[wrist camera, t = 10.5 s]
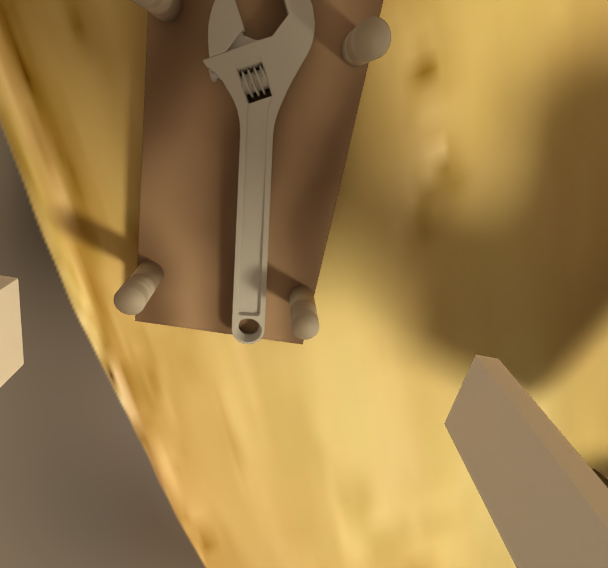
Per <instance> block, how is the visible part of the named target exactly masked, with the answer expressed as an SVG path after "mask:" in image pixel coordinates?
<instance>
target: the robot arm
mask: <svg viewBox="0 0 608 568" xmlns="http://www.w3.org/2000/svg"><path fill="white" fill-rule="evenodd" d="M23 364H24V361H23V346H22V331H21V316H20V301H19V286H18V278H12V277H6V276H1V275H0V387H1V386H2V385H3V384H4V383H5V382H6V381H7V380H8V379H9V378H10V377H11V376H12V375H13V374H14V373H15V372H16V371H17V370H18V369H19V368H20V367H21V366H22V365H23ZM445 426H446V428H447V430H448V432H449V434H450V436H451V438H452V440H453V442H454V444H455V446H456V448H457V450H458V452H459V454H460V456H461V458H462V460H463V462H464V464H465V466H466V468H467V470H468V472H469V474H470V476H471V478H472V480H473V482H474V484H475V486H476V488H477V490H478V492H479V494H480V496H481V498H482V500H483V502H484V504H485V506H486V508H487V510H488V512H489V514H490V516H491V518H492V520H493V522H494V524H495V526H496V528H497V530H498V532H499V534H500V536H501V538H502V540H503V542H504V544H505V546H506V548H507V550H508V552H509V554H510V555H511V557H512V559H513V561H514V563H515V565H516V567H517V568H608V480H607V479H606V478H605V477H604V476H602V475H601V474H600V473H599V472H598V471H596V470H595V469H591V468H590V466H589V465H588V464H587V463H586V462H585V460H584V459H583V458H582V457H581V456H580V455H579V453H578V452H577V451H576V450H575V449H574V447H573V446H572V445H571V444H570V443H569V441H568V440H567V439H566V438H565V437H564V436H563V434H562V433H561V432H560V431H559V430H558V428H557V427H556V426H555V425H554V424H553V423H552V421H551V420H550V419H549V418H548V417H547V415H546V414H545V413H544V412H543V411H542V409H541V408H540V407H539V406H538V405H537V404H536V402H535V401H534V400H533V399H532V398H531V396H530V395H529V394H528V393H527V392H526V391H525V389H524V388H523V387H522V386H521V385H520V383H519V382H518V381H517V380H516V379H515V377H514V376H513V375H512V374H511V373H510V372H509V370H508V369H507V368H506V367H505V366H504V364H503V363H502V362H501V361H500V360H499V359H498V358H493V357H487V356H481V355H475V357H474V359H473V361H472V363H471V366H470V368H469V370H468V372H467V375H466V377H465V379H464V381H463V384H462V386H461V388H460V390H459V392H458V395H457V397H456V399H455V401H454V404H453V406H452V408H451V410H450V412H449V415H448V417H447V419H446V421H445Z"/></svg>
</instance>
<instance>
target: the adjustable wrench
mask: <svg viewBox="0 0 608 568" xmlns="http://www.w3.org/2000/svg"><path fill="white" fill-rule="evenodd" d="M284 4H285V7H286V11H287V15H288V16H287V17H286V19H285V20H284V21H283V23H282V24H281V25H280V27H279V28H278V29H277V30H276V32H275V33H274V34H273V36H271V37H268V38H264V39H261V40H254V39H251V38H249V37H246V36H244V33H245V29H244V26H243V22H242V19H241V16H240V13H239V10H238V7H237V4H236V1H235V0H215V2H214V4H213V7H212V10H211V14H210V19H209V25H208V47H209V56H210V58H208V59H205V60H203V62H204V63H205V65H206V67H208V71H209V74H210V77H211V79H212V81H213V82H215V81H217V79H219V80H222V81H223V83H224V85H225V86H226V88H227V90H228V91H229V93H230V95H231V96H232V98H233V100H234V103H235V105H236V107H237V111H238V116H239V121H240V152H239V175H238V198H237V221H236V245H235V268H234V291H233V314H232V334H233V336H234V337H235V339H236V340H238V341H239V342H241V343H244V344H253V343H256V342H258V341H259V340H260V339H261V338H262V337H263V335H264V329H265V307H266V284H267V261H268V239H269V216H270V193H271V170H272V147H273V131H274V124H275V120H276V117H277V114H278V111H279V108H280V106H281V104H282V101H283V99H284V97H285V95H286V92H287V90H288V88H289V86H290V84H291V82H292V80H293V78H294V77H295V75H296V73H297V71H298V70H299V68H300V66H301V65H302V63H303V61H304V59H305V58H306V56H307V54H308V52H309V50H310V48H311V45H312V41H313V37H314V30H315V19H314V12H313V6H312V3H311V1H310V0H284ZM262 66H263V68H262ZM256 68H259V70H256ZM252 69H253V72H250V71H249V70H252ZM246 71H247V74H244V72H246ZM240 73H241V75H240ZM268 88H270V91H271V95H272V96H270V97H267V98H264V99H261V100H258V101H255V102H253V103H249V100H248V97H247V95H249V94H250V95H251V97H252V98H254V93H255V92H256V93H257V95H258V96H260V91H262V92H263V93H264V95H265V94H266V89H268ZM248 318H249V319H253V320H255V321H257V322H258V324H259V328H258V330H257V331H256V332H254V333H245V332H243V331H241V330H240V329H239V322H240V321H241V320H243V319H248Z"/></svg>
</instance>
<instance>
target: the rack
mask: <svg viewBox="0 0 608 568" xmlns="http://www.w3.org/2000/svg"><path fill="white" fill-rule="evenodd" d="M132 1H133V2H135V3H136V4H138V5H139V6H141V7H142V8H143V9H145V10H146V11H148V28H147V52H146V76H145V99H144V123H143V147H142V171H141V195H140V219H139V242H138V266H137V269H136V270H135V271H134V272H133V273H132V274H131V276H130V277H129V278H128V279H127V280H126V282H125V283H124V284H123V285H122V286H121V288H120V289H119V290H118V291H117V292H116V294H115V295H114V304H115V306H116V308H117V309H118V310H119V311H121V312H122V313H124V314H128V315H135V321H140V322H147V323H154V324H161V325H169V326H176V327H183V328H190V329H197V330H204V331H211V332H218V333H225V334H232V314H233V291H234V268H235V245H236V221H237V198H238V175H239V152H240V121H239V116H238V111H237V107H236V105H235V103H234V100H233V98H232V96H231V95H230V93H229V91H228V90H227V88H226V86H225V85H224V83H223V81H222V80H219V79H217V81H215V82H213V81H212V79H211V77H210V74H209V71H208V67H206V65H205V63H204V62H203V60H205V59H208V58H210V56H209V47H208V25H209V19H210V14H211V10H212V7H213V4H214V2H215V0H132ZM235 1H236V4H237V7H238V10H239V13H240V16H241V19H242V22H243V26H244V29H245V33H244V36H246V37H249V38H251V39H254V40H261V39H264V38H268V37H271V36H273V34H274V33H275V32H276V30H277V29H278V28H279V27H280V25H281V24H282V23H283V21H284V20H285V19H286V17H287V16H288V15H287V11H286V7H285V4H284V0H235ZM310 1H311V3H312V6H313V12H314V19H315V30H314V37H313V41H312V45H311V48H310V50H309V52H308V54H307V56H306V58H305V59H304V61H303V63H302V65H301V66H300V68H299V70H298V71H297V73H296V75H295V77H294V78H293V80H292V82H291V84H290V86H289V88H288V90H287V92H286V95H285V97H284V99H283V101H282V104H281V106H280V108H279V111H278V114H277V117H276V120H275V124H274V131H273V147H272V170H271V193H270V216H269V239H268V261H267V284H266V307H265V329H264V335H263V337H262V338H261V339H268V340H275V341H282V342H289V343H296V344H303V340H306V339H310V338H313V337H314V336H315V335H316V334H317V333H318V331H319V322H318V316H317V311H316V305H315V300H314V293H315V289H316V285H317V281H318V276H319V272H320V268H321V264H322V259H323V255H324V251H325V246H326V242H327V238H328V234H329V229H330V225H331V221H332V217H333V212H334V208H335V204H336V200H337V195H338V191H339V187H340V183H341V178H342V174H343V170H344V166H345V161H346V157H347V153H348V148H349V144H350V140H351V136H352V131H353V127H354V123H355V119H356V114H357V110H358V106H359V102H360V97H361V93H362V89H363V85H364V80H365V76H366V72H367V68H368V63H369V62H371V61H373V60H375V59H378V58H380V57H381V56H383V55H384V54H385V53H386V51H387V50H388V48H389V46H390V42H391V31H390V28H389V26H388V24H387V23H386V22H385V21H384V20H383V19H382V18H380V17H379V16H380V12H381V8H382V4H383V0H310ZM262 68H263V66H262ZM256 70H259V68H256ZM249 71H250V72H253V69H252V70H249ZM244 74H247V71H246V72H244ZM240 75H241V73H240ZM270 96H272V95H271V91H270V88H268V89H266V94H265V95H264V93H263V92H262V91H260V96H258V95H257V93H256V92H255V93H254V98H252V97H251V95H250V94H249V95H247V97H248V100H249V103H253V102H255V101H258V100H261V99H264V98H267V97H270ZM258 328H259V324H258V322H257V321H255V320H253V319H249V318H248V319H243V320H241V321H240V322H239V329H240V330H241V331H243V332H245V333H254V332H256V331H257V330H258ZM232 335H233V334H232Z"/></svg>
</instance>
